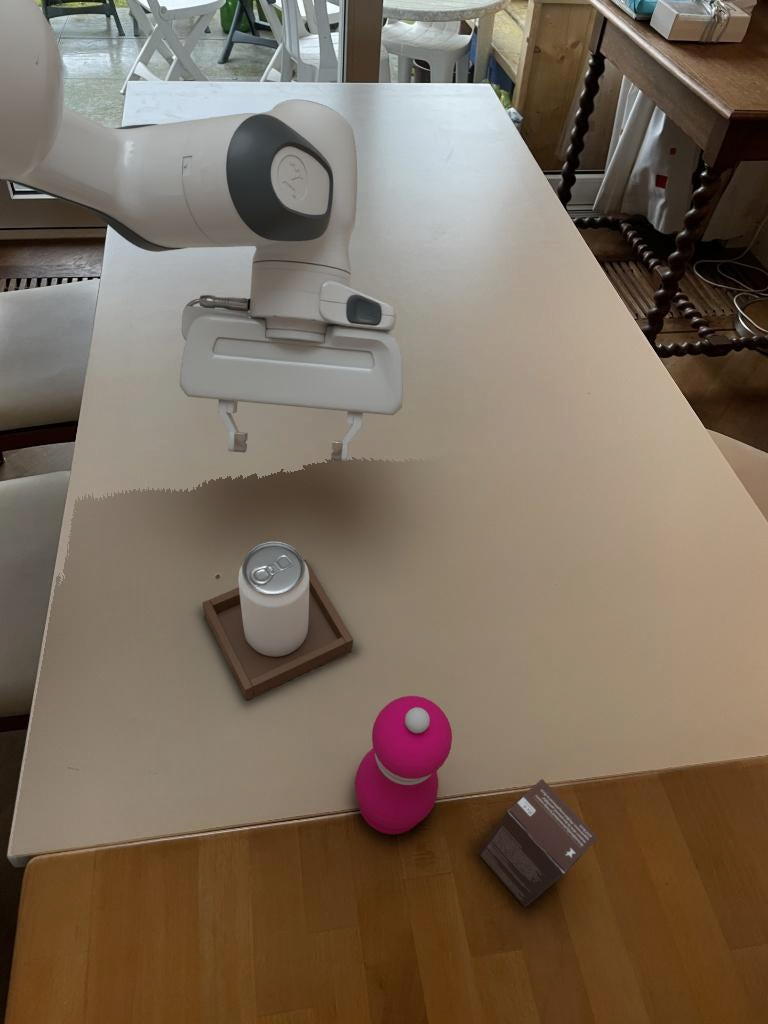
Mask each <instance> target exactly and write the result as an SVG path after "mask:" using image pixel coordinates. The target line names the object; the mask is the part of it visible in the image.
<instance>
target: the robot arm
mask: <svg viewBox="0 0 768 1024" xmlns="http://www.w3.org/2000/svg"><path fill="white" fill-rule="evenodd" d="M63 65H64V64H63V61H62V57H61V52H60V49H59V46H58V42H57V40H56V38H55V34H54V32H53V30H52V27H51V26H50V24H49V22H48V20H47V18H46V16H45V14H44V13H43V11H42V8H41V7H40V6H39V4H38V3H37V2H36V1H35V0H0V180H3V181H6V182H9V183H12V184H15V185H18V186H21V187H23V188H27V189H29V190H32V191H35V192H38V193H40V194H43V195H46V196H49V197H51V198H55V199H58V200H60V201H63V202H66V203H68V204H72V205H75V206H77V207H80V208H82V209H84V210H86V211H88V212H90V213H92V214H93V215H95V216H96V217H98V218H99V219H101V221H103V222H104V223H105V224H106V225H108V226H109V227H110V228H111V229H112V230H114V232H116V234H118V235H119V236H121V237H122V238H123V239H124V240H126V241H127V242H129V243H130V244H132V245H133V246H135V247H137V248H139V249H141V250H145V251H147V252H153V253H160V252H170V251H177V250H183V249H193V248H194V249H195V248H197V249H198V248H234V247H236V248H237V247H240V248H241V247H255V251H254V254H253V257H252V265H251V279H250V294H249V295H250V296H249V298H246V297H235V296H230V297H226V296H225V297H223V296H221V297H220V296H216V295H213V294H202V295H199V298H195V299H192V300H190V301H189V302H188V303H187V304H186V305H185V307H184V309H183V311H182V315H181V335H182V337H183V338H184V340H185V344H184V348H183V353H182V357H181V363H180V364H181V365H180V372H179V387H180V389H181V390H182V392H183V393H184V394H185V396H187V397H189V398H198V399H207V400H208V399H210V400H218V404H217V413H218V416H219V417H220V419H221V421H222V424H223V425H224V427H225V430H226V432H227V433H228V445H227V446H228V447H227V449H228V450H227V451H228V452H231V453H246V452H247V449H248V444H247V441H248V435H249V433H248V432H246V431H245V432H243V431H239V430H240V429H239V428H238V426H237V424H236V421H235V420H234V418H233V414H236V413H237V412H238V402H242V403H251V404H252V403H253V404H263V405H274V406H283V407H284V406H285V407H297V408H307V409H318V410H330V411H339V412H347V414H346V424H347V425H351V426H350V428H349V430H348V431H347V432H346V434H345V435H344V437H343V438H342V440H332V443H331V450H332V452H331V455H330V456H331V457H330V460H331V461H335V462H344V463H347V462H348V451H349V444H350V443H351V441H353V438H354V437H355V436H356V435H357V433H358V432H359V430H360V429H361V427H362V426H363V415H364V414H372V415H383V416H394V415H396V414H397V413H398V412H399V411H400V410H401V409H402V408H403V400H404V365H403V364H404V363H403V354H402V350H401V346H400V344H399V342H398V340H397V339H396V337H395V336H394V335H393V334H391V332H392V331H393V330H394V329H395V327H396V323H397V312H396V310H395V309H394V307H393V306H392V305H391V304H389V303H386V302H384V301H382V300H379V299H377V298H375V297H372V296H370V295H368V294H365V293H363V292H361V291H359V290H356V289H354V288H351V279H352V276H351V275H352V267H351V266H352V265H351V262H350V255H349V254H350V253H349V252H350V251H349V248H350V242H351V238H352V235H353V232H354V229H355V226H356V217H357V203H358V156H357V155H358V153H357V146H356V139H355V138H356V137H355V134H354V130H353V127H352V126H351V123H350V122H349V121H348V120H347V119H346V118H345V117H344V116H343V115H341V113H339V112H338V111H336V110H334V109H333V108H331V107H330V106H327V105H324V104H322V103H319V102H315V101H313V100H312V101H311V100H307V99H286V100H284V101H280V102H279V103H277V104H276V105H274V106H273V107H272V109H271V110H267V111H264V112H258V113H257V112H256V113H255V112H244V113H235V114H227V115H221V116H212V117H207V118H200V119H199V118H198V119H192V120H183V121H175V122H167V123H161V124H159V123H145V124H144V123H143V124H132V125H124V126H120V127H116V128H115V127H114V128H113V127H108V126H105V125H103V124H101V123H99V122H97V121H95V120H93V119H91V118H89V117H87V116H85V115H83V114H81V113H79V112H77V111H75V110H73V109H71V108H69V107H67V106H65V74H64V66H63ZM197 304H199V306H197ZM195 305H196V306H195Z"/></svg>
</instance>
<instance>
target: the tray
mask: <svg viewBox="0 0 768 1024" xmlns="http://www.w3.org/2000/svg"><path fill="white" fill-rule="evenodd" d="M303 560H304V562H305V563H306V565H307V568H308V572H309V616H308V632H307V636H306V638H305V640H304V642H303V643H302V645H301V646H300V647H299V648H298V649H296V650H295V651H294V652H292V653H290V654H287V655H284V656H278V657H272V656H266V655H263V654H261V653H259V652H257V651H256V650H254V649H253V648H252V647H251V646H250V645H249V643H248V642H247V640H246V638H245V633H244V627H243V619H242V610H241V601H240V592H239V587H236V588H234V589H231V590H230V591H226V592H224V593H221V594H220V595H217V596H215V597H213V598H210V599H207V600H205V601H203V602H202V603H201V605H202V608H203V609H202V610H203V614H204V618H205V619H206V621H207V623H208V625H209V627H210V629H211V632H212V633H213V635H214V638H215V639H216V641H217V642H216V643H218V645H219V648H220V650H221V652H222V654H223V656H224V658H225V660H226V663H227V664H228V667H229V668H230V671H231V673H232V674H233V677H234V678H235V680H236V681H235V682H236V683H237V685H238V687H239V689H240V691H241V693H242V695H243V697H244V699H245V701H249V700H251V699H253V698H255V697H258V696H260V695H261V694H264V693H266V692H268V691H271V690H272V689H275V688H277V687H278V686H281V685H283V684H284V683H287V682H289V681H292V680H293V679H295V678H298V677H300V676H302V675H304V674H306V673H308V672H310V671H313V670H314V669H317V668H319V667H320V666H323V665H325V664H327V663H329V662H332V661H333V660H335V659H337V658H339V657H342V656H344V655H346V654H348V653H350V652H352V651H353V643H354V638H353V637H352V635H351V632H349V630H348V629H347V627H346V624H345V623H344V622H343V620H342V618H341V616H340V615H339V613H338V612H337V610H336V608H335V606H334V604H333V603H332V601H331V600H330V598H329V596H328V595H327V593H326V592H325V589H324V588H323V586H322V585H321V582H320V581H319V579H318V578H317V576H316V574H315V573H314V571H313V569H312V567H311V565H310V564H309V563H308V561H307V559H303Z"/></svg>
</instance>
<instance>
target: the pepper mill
mask: <svg viewBox="0 0 768 1024" xmlns="http://www.w3.org/2000/svg"><path fill="white" fill-rule="evenodd" d="M450 723H451V722H450V721H449V718H448V717H447V715H446V714H445V712H444V711H443V709H442V708H441V707H440V706H439V705H437V704H436V703H435V702H433V701H432V700H430V699H428V698H426V697H423V696H419V695H405V696H401V697H398V698H396V699H394V700H392V701H390V702H388V703H387V704H386V705H385V706H384V707H382V709H381V710H380V711H379V713H378V714H377V716H376V718H375V721H374V723H373V727H372V731H371V742H372V748H371V749H370V750H369V751H368V752H366V754H365V755H364V756H363V758H362V759H361V761H360V763H359V765H358V767H357V771H356V773H355V779H354V790H355V796H356V800H357V803H358V804H357V805H358V809H359V811H360V814H361V816H362V818H363V819H364V821H365V822H366V823H367V824H368V825H369V826H370V827H371V828H372V829H374V830H376V831H377V832H380V833H382V834H387V835H400V834H404V833H406V832H409V831H410V830H412V829H413V828H415V827H416V825H418V824H419V823H420V822H421V821H423V820H424V819H426V817H427V816H428V815H429V814H430V813H431V811H432V809H433V808H434V806H435V803H436V801H437V797H438V792H439V777H438V772H437V771H439V769H440V768H441V767H442V766H443V765H444V764H445V762H446V760H447V759H448V757H449V756H450V752H451V749H452V744H453V743H452V742H453V730H452V727H451V724H450Z"/></svg>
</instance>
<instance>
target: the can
mask: <svg viewBox="0 0 768 1024" xmlns="http://www.w3.org/2000/svg"><path fill="white" fill-rule="evenodd" d="M304 560H305V559H304V558H303V556H302V554H301V553H300V551H299V550H298V549H297V548H296V547H294V546H292V545H291V544H289V543H286V542H283V541H277V540H275V541H265V542H262V543H260V544H257V545H256V546H254V547H253V548H251V549H250V550H249V551H248V552H247V553H246V555H245V556H244V558H243V561H242V563H241V566H240V568H239V571H238V578H237V579H238V588H239V592H240V601H241V610H242V619H243V627H244V633H245V638H246V640H247V642H248V643H249V645H250V646H251V647H252V648H253V649H254V650H256V651H257V652H259V653H261V654H263V655H266V656H272V657H278V656H284V655H287V654H290V653H292V652H294V651H295V650H296V649H298V648H299V647H300V646H301V645H302V643H303V642H304V640H305V638H306V636H307V632H308V616H309V572H308V568H307V565H306V563H305V562H304Z"/></svg>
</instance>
